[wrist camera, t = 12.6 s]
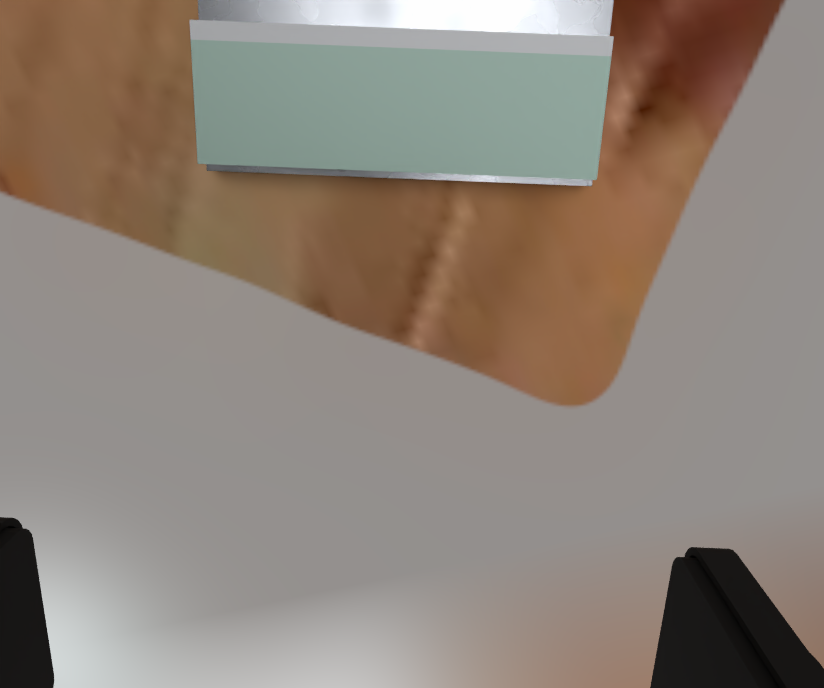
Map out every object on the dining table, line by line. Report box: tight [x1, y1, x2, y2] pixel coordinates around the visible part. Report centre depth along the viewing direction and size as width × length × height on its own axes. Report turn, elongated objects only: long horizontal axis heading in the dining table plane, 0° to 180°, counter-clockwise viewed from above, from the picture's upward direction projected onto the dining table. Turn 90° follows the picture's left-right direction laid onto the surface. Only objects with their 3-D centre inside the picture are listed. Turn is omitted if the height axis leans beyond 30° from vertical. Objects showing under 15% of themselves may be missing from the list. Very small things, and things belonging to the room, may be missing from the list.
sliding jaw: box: [190, 20, 614, 180], centre depth 24 cm, size 14×5×2 cm, turn 88°
